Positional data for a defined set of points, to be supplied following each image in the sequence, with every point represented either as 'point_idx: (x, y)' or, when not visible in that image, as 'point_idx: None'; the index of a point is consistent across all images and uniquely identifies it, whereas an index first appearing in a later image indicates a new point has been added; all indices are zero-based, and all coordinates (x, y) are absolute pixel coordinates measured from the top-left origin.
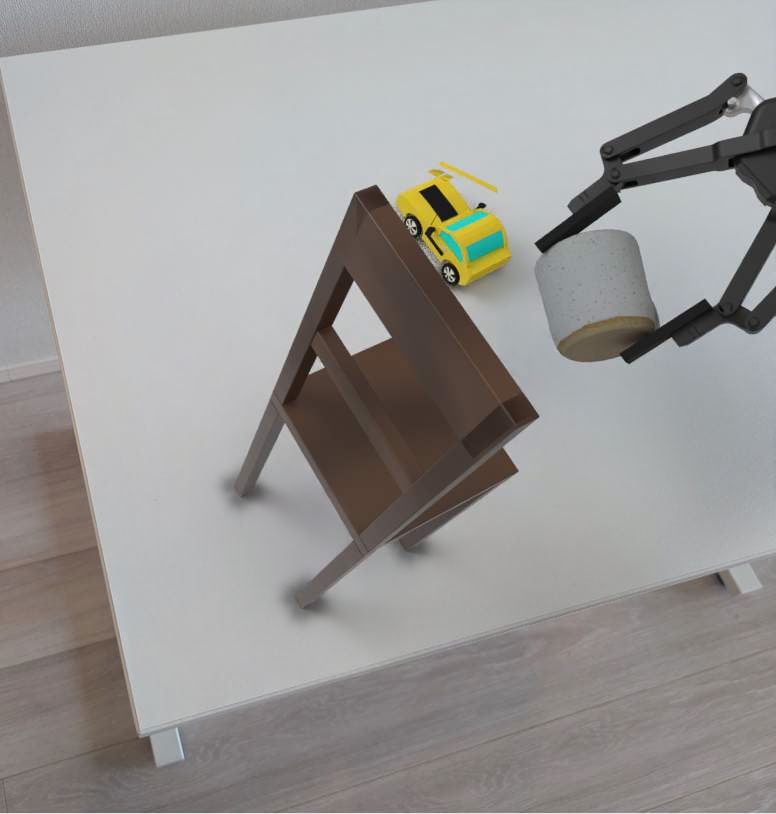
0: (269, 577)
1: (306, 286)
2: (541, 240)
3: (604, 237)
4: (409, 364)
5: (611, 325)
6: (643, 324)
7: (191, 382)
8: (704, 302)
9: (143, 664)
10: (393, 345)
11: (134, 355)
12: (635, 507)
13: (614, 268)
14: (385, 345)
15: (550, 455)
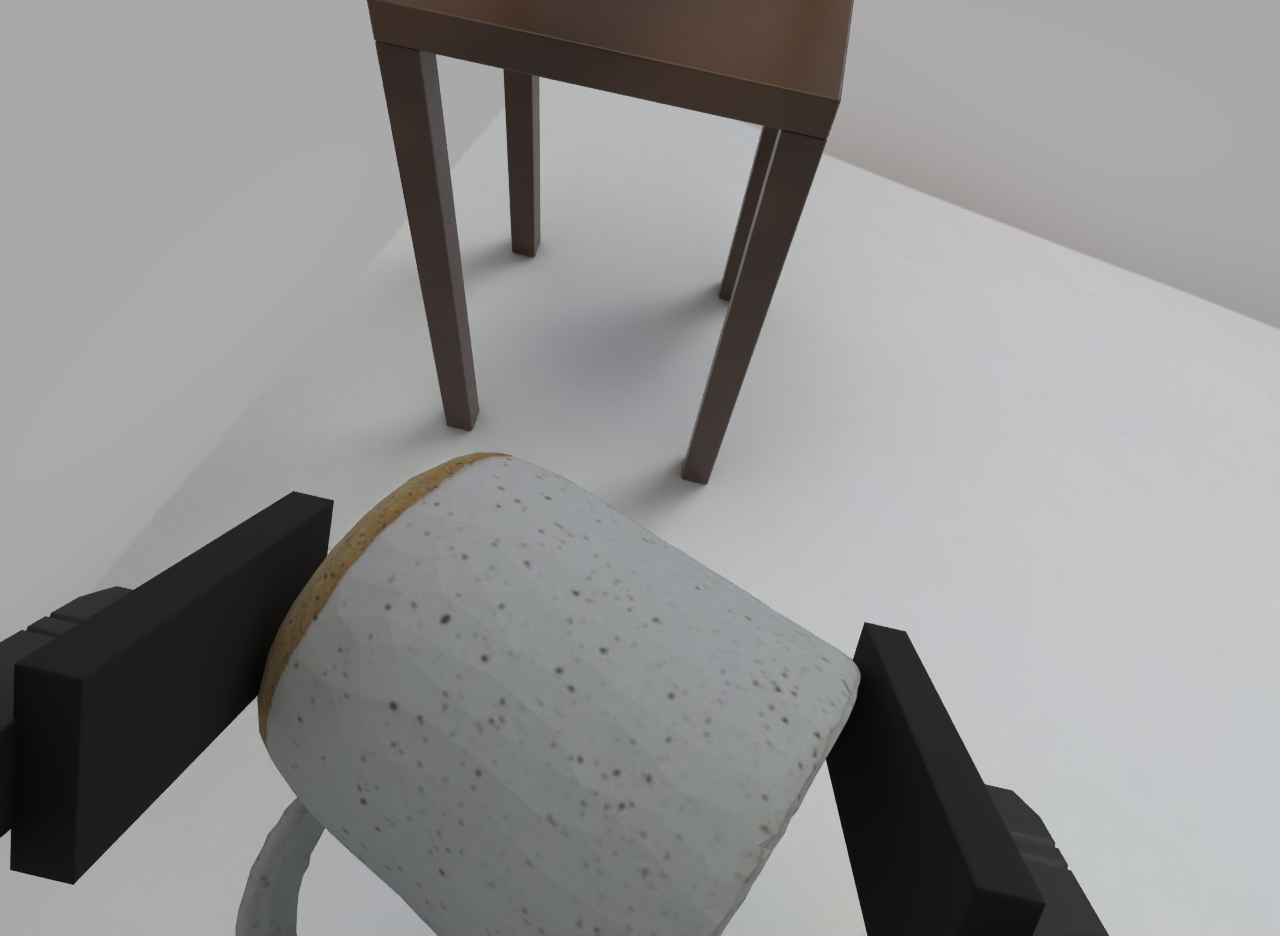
0: (588, 235)
1: (1044, 658)
2: (903, 641)
3: (764, 737)
4: (762, 21)
5: (428, 471)
6: (318, 573)
7: (944, 349)
8: (74, 661)
9: None
10: (827, 32)
11: (1033, 316)
12: (53, 911)
13: (602, 640)
14: (837, 21)
15: None
